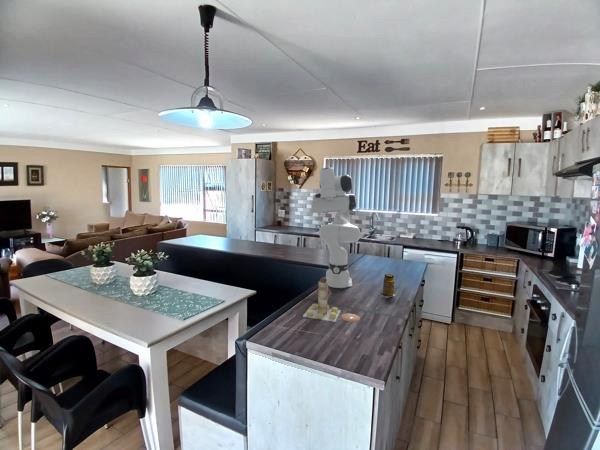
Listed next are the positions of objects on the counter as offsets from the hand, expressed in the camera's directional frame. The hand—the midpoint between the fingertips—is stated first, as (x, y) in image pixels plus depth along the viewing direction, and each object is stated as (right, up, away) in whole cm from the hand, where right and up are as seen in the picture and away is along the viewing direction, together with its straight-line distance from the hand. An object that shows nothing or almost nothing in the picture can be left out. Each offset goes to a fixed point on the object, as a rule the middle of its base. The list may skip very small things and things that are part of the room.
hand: (330, 220), depth 174 cm
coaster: (+8, -48, -22) cm, 53 cm away
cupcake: (-4, -45, +2) cm, 45 cm away
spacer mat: (-6, -47, -18) cm, 51 cm away
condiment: (+35, -44, +12) cm, 58 cm away
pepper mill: (-6, -47, -18) cm, 50 cm away
